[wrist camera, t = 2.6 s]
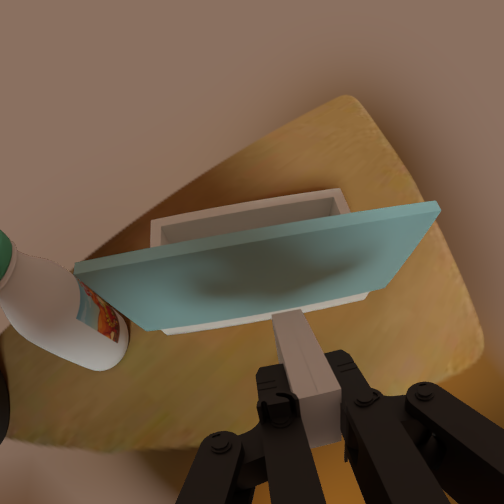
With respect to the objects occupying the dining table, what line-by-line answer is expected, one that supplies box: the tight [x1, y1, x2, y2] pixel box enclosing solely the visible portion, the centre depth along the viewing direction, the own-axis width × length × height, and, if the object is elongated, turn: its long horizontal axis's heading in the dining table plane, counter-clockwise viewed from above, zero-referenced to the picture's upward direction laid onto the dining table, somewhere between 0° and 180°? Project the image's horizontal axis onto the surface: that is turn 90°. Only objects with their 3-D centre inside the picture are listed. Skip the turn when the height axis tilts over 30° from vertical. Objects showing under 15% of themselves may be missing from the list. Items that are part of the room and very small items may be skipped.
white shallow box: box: [150, 188, 370, 335], centre depth 33 cm, size 22×12×5 cm, turn 99°
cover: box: [74, 201, 441, 331], centre depth 22 cm, size 23×13×1 cm
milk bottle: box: [0, 230, 129, 371], centre depth 23 cm, size 8×8×20 cm
